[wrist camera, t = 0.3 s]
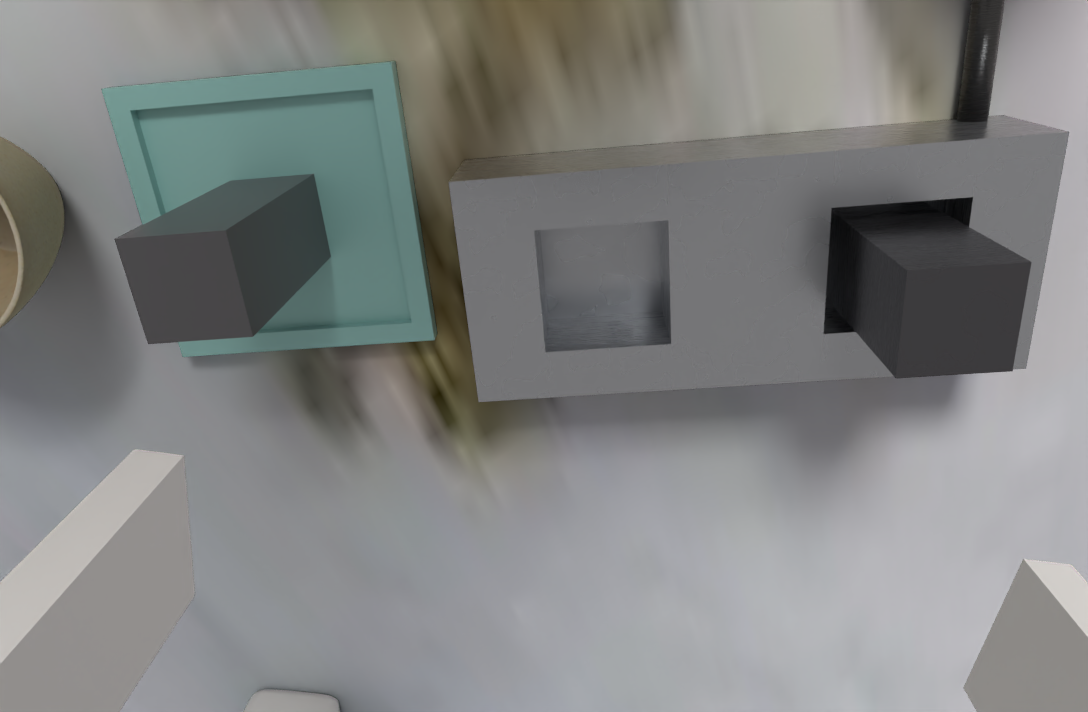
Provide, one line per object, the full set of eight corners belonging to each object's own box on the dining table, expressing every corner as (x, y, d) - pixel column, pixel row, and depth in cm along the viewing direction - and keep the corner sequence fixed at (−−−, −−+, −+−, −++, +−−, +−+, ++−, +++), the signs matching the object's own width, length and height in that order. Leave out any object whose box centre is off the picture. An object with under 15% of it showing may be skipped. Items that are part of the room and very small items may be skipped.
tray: (112, 87, 35) (101, 88, 34) (395, 60, 34) (391, 62, 33) (190, 349, 40) (182, 356, 39) (437, 333, 39) (434, 340, 39)
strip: (431, -105, 32) (364, -157, 21) (1045, -170, 30) (1283, -260, 20) (489, 356, 40) (461, 474, 30) (972, 325, 38) (1113, 438, 28)
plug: (230, 180, 36) (114, 239, 27) (313, 173, 36) (225, 230, 27) (250, 262, 38) (148, 344, 29) (331, 256, 38) (253, 337, 28)
